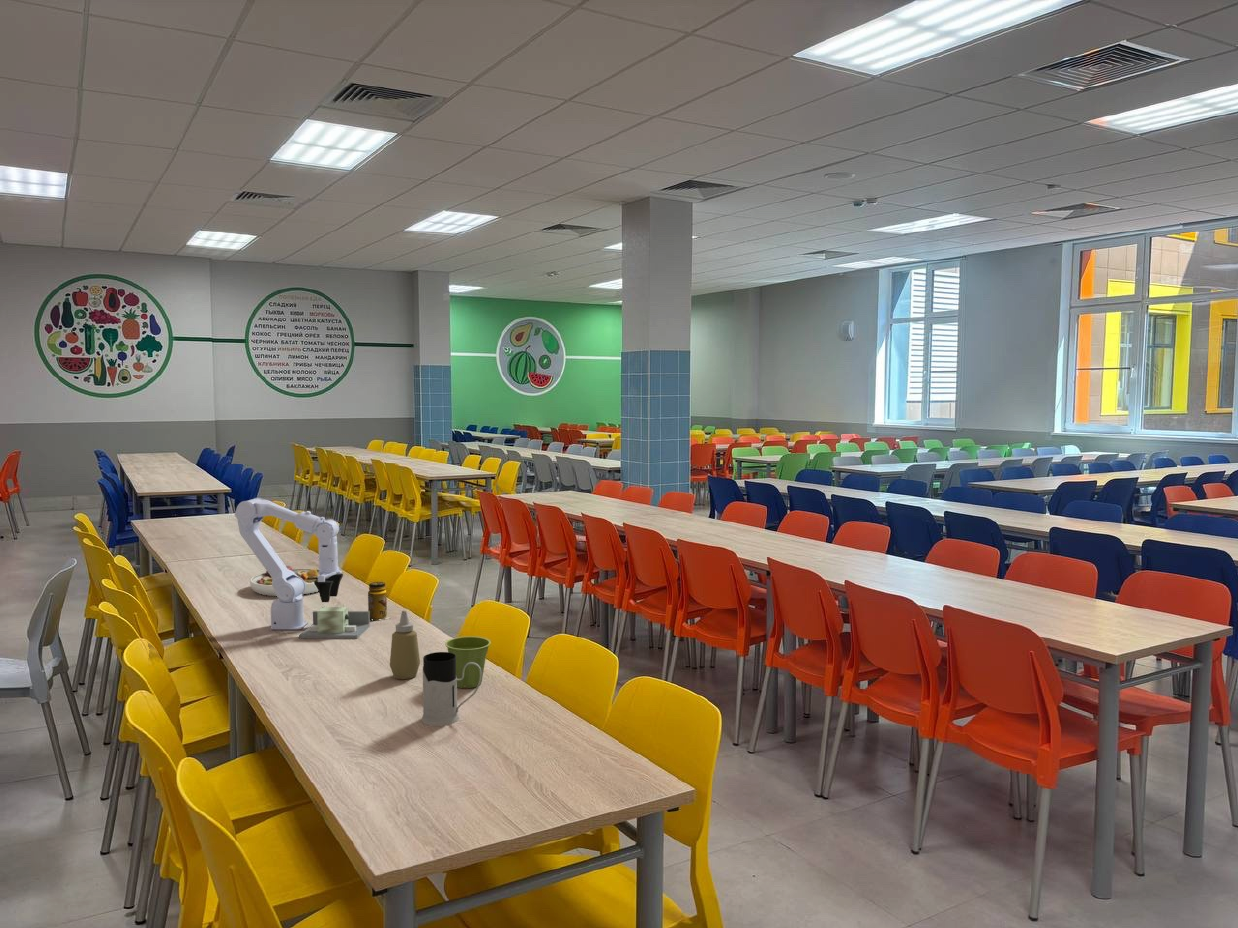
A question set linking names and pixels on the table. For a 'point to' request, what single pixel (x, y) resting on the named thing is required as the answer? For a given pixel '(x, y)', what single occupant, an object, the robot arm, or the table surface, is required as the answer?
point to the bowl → (264, 587)
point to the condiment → (377, 601)
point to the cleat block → (332, 619)
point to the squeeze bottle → (404, 650)
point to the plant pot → (468, 658)
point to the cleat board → (353, 620)
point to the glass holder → (441, 689)
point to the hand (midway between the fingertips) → (329, 599)
